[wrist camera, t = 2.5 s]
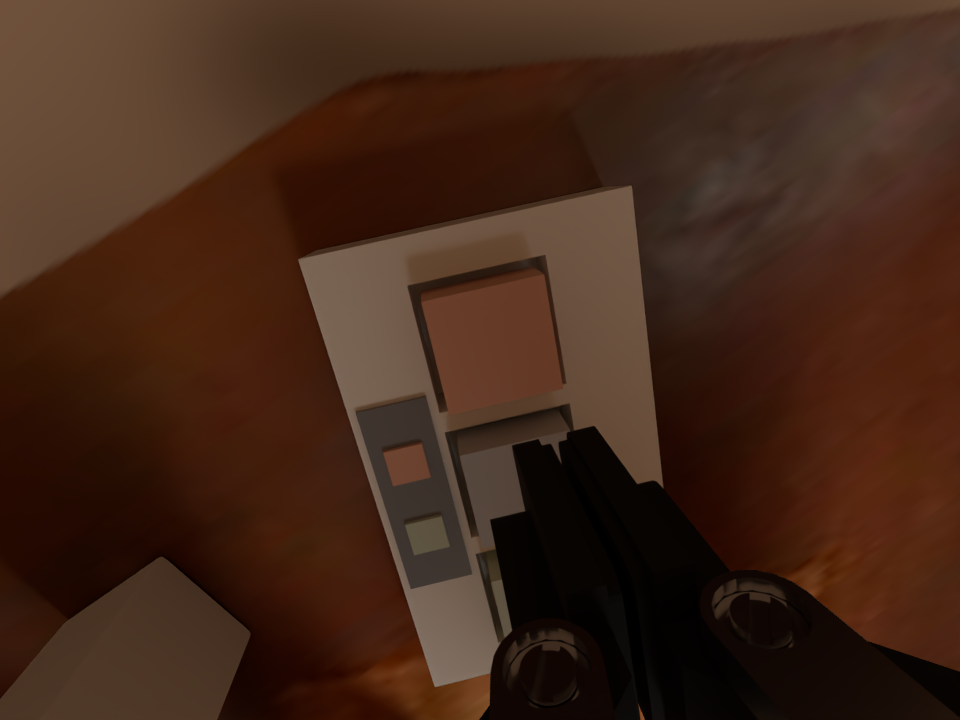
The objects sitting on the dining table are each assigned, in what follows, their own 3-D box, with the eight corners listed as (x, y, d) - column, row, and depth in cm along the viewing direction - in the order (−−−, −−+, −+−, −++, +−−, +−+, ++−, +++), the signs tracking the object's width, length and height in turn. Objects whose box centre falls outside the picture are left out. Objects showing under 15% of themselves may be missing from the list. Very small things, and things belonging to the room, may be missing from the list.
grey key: (556, 407, 25) (570, 429, 23) (571, 494, 27) (585, 523, 24) (456, 431, 25) (459, 456, 22) (477, 516, 26) (482, 548, 24)
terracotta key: (531, 266, 23) (544, 274, 20) (549, 369, 24) (563, 388, 22) (421, 290, 23) (421, 302, 20) (447, 393, 24) (449, 415, 22)
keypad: (603, 186, 24) (635, 185, 21) (651, 582, 32) (681, 632, 28) (315, 250, 24) (295, 260, 20) (433, 635, 32) (435, 693, 28)
